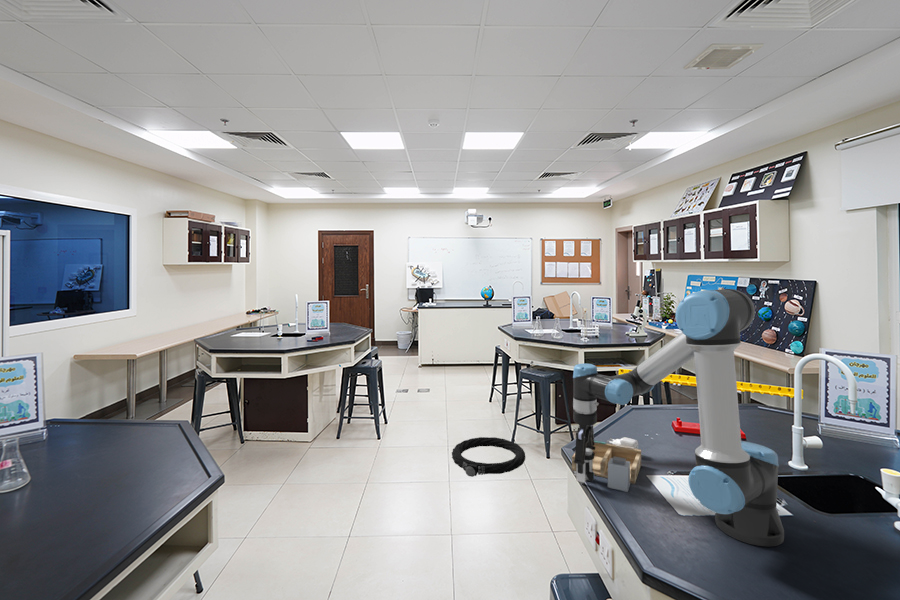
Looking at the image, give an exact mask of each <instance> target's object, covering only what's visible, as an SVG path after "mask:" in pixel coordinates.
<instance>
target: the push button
mask: <svg viewBox="0 0 900 600" xmlns="http://www.w3.org/2000/svg"><path fill="white" fill-rule="evenodd" d="M594 456H595V453H594V452H593V451H592V450H591V449H589V448H586V453H585V481H586V482H591V483H592V482H593V481H594V479H595V475H594V472H593V470H592V459H594ZM573 473H574V474H573V476H576V471H573Z"/></svg>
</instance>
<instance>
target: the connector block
mask: <svg viewBox="0 0 900 600" xmlns="http://www.w3.org/2000/svg"><path fill="white" fill-rule="evenodd" d="M630 487H631V483H630V462H629V461H626V459H625V458H620V457H615V456H614V457H613V458H610V460H609V462H608V478H607V488H610V489H612V490H613V489H614V490H618V491H622V492H626V493H628V492H629V489H630Z"/></svg>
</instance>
